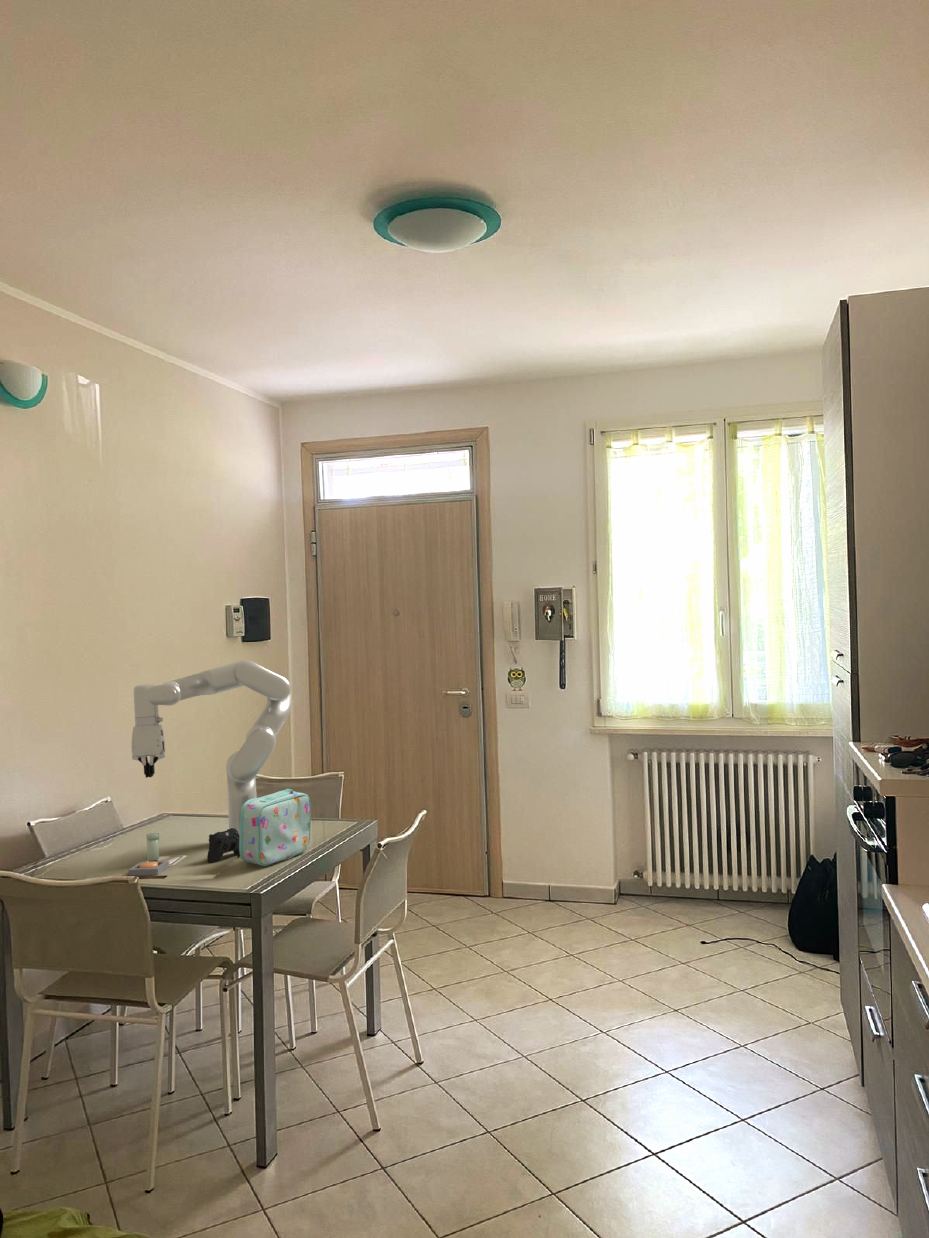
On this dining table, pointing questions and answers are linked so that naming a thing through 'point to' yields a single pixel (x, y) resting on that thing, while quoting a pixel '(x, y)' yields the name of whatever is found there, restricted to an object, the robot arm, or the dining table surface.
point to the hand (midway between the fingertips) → (149, 776)
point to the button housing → (148, 869)
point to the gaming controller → (223, 844)
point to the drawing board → (172, 861)
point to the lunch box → (274, 827)
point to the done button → (149, 864)
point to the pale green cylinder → (152, 846)
